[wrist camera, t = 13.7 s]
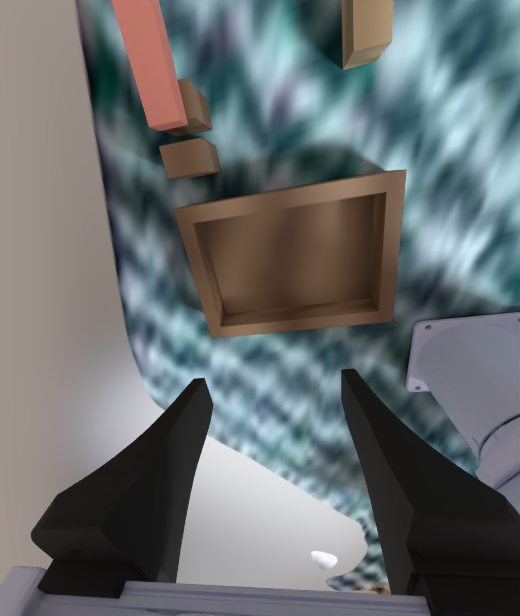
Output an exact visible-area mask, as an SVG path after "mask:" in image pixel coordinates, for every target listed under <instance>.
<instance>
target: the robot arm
mask: <svg viewBox="0 0 520 616" xmlns="http://www.w3.org/2000/svg"><path fill="white" fill-rule="evenodd" d="M518 318H519V319H518ZM427 325H429V327H427V328H425V327H426V326H427ZM417 386H418V387H417ZM406 389H407V390H408V391H409V392H421V391H431V393H432V394H433V396H434V397H435V399H436V400H437V401H438V403H439V404H440V406H441V407H442V409H443V410H444V411H445V413H446V414H447V416H448V417H449V419H450V420H451V421H452V423H453V424H454V426H455V427H456V428H457V430H458V431H459V433H460V434H461V436H462V437H463V438H464V440H465V441H466V443H467V444H468V446H469V447H470V448H471V450H472V451H473V453H474V454H475V456H476V457H477V458H478V460H479V461H480V463H481V464H480V466H479V468H478V469H477V470H476V471H475V473H476V475H477V476H478V478H479V479H480V480H478V479H477V478H475V477H473V476H472V475H470V474H469V473H467V472H466V471H464V470H463V469H461V468H460V467H458V466H457V465H456V464H454V463H453V462H451V461H450V460H449V459H447V458H446V457H445V456H443V455H442V454H441V453H439V452H438V451H437V450H435V449H434V448H433V447H431V446H430V445H429V444H427V443H426V442H425V441H424V440H422V439H421V438H420V437H419V436H418V435H416V434H415V433H414V432H413V431H412V430H411V429H410V428H408V427H407V426H406V425H405V424H404V423H403V422H402V421H401V420H400V419H399V418H398V417H397V416H396V415H395V414H394V413H392V412H391V411H390V410H389V409H388V407H387V406H386V405H385V404H384V403H383V402H382V401H381V400H380V399H379V398H378V397H377V396H376V394H375V393H374V392H373V391H372V390H371V389H370V388H369V386H368V385H367V384H366V383H365V381H364V380H363V379H362V378H361V376H360V375H359V374H358V372H357V371H356V370H355V369H343V370H341V399H342V404H343V409H344V413H345V418H346V421H347V424H348V427H349V430H350V433H351V436H352V439H353V442H354V445H355V448H356V451H357V454H358V457H359V460H360V463H361V466H362V469H363V472H364V476H365V480H366V484H367V488H368V492H369V496H370V501H371V505H372V509H373V513H374V518H375V522H376V526H377V531H378V535H379V540H380V544H381V549H382V553H383V558H384V563H385V567H386V572H387V577H388V581H389V586H390V591H391V595H387V594H368V593H349V592H330V591H311V590H292V589H273V588H254V587H235V586H215V585H197V584H178V583H176V578H177V571H178V564H179V557H180V550H181V544H182V538H183V532H184V525H185V520H186V515H187V509H188V504H189V499H190V494H191V489H192V485H193V480H194V475H195V471H196V468H197V464H198V461H199V458H200V455H201V452H202V448H203V445H204V442H205V439H206V435H207V432H208V429H209V425H210V421H211V416H212V410H213V402H212V399H211V396H210V393H209V390H208V387H207V384H206V381H205V378H197V379H193V380H192V381H191V383H190V384H189V385H188V386H187V387H186V388H185V389H184V391H183V392H182V393H181V394H180V395H179V396H178V397H177V399H176V400H175V401H174V402H173V403H172V404H171V405H170V406H169V407H168V409H167V410H166V411H165V412H164V413H163V414H162V415H161V416H160V417H159V418H158V419H157V420H156V421H155V422H154V423H153V424H152V425H151V426H150V427H149V428H148V429H147V430H146V431H145V432H144V433H143V434H141V435H140V436H139V437H138V438H137V439H136V440H135V441H134V442H132V443H131V444H130V445H129V446H127V447H126V448H125V449H124V450H122V451H121V452H120V453H119V454H117V455H116V456H115V457H114V458H112V459H111V460H109V461H108V462H107V463H105V464H104V465H103V466H101V467H100V468H98V469H97V470H96V471H94V472H92V473H91V474H90V475H88V476H87V477H85V478H84V479H82V480H80V481H79V482H77V483H75V484H74V485H73V486H71V487H69V488H68V489H66V490H65V491H63V492H61V493H59V494H58V495H57V496H56V497H55V499H54V500H53V502H52V503H51V505H50V506H49V507H48V509H47V510H46V512H45V513H44V514H43V516H42V517H41V519H40V520H39V522H38V523H37V524H36V526H35V527H34V528H33V530H32V532H31V538H32V541H33V542H34V543H35V544H36V545H37V546H38V547H39V548H40V549H42V550H43V551H44V552H45V553H46V554H48V555H49V556H50V557H51V558H52V559H54V560H53V561H52V563H51V565H50V566H49V568H48V570H47V569H44V568H40V567H26V566H14V567H13V568H12V569H11V570H10V572H9V573H8V574H7V576H6V577H5V579H4V580H3V582H2V583H1V584H0V616H520V312H515V313H504V314H493V315H483V316H472V317H461V318H450V319H439V320H429V321H420V322H417V323H416V324H415V325H414V330H413V337H412V344H411V351H410V358H409V365H408V373H407V380H406Z"/></svg>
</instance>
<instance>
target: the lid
mask: <svg viewBox="0 0 520 616" xmlns="http://www.w3.org/2000/svg"><path fill="white" fill-rule="evenodd" d="M341 4H342V46H343V70H345V69H349V68H352V67H356V66H360V65H364V64H368V63H372V62H375V61H376V60H377V59H378V58H379V56H380V55H381V54H382V53H383V52H384V50H385V49H386V48H387V47H388V45H389V44H390V43H391V42H392V22H393V0H341Z"/></svg>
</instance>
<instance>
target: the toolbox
mask: <svg viewBox="0 0 520 616" xmlns="http://www.w3.org/2000/svg"><path fill="white" fill-rule="evenodd" d="M178 84H179V88H180V93H181V97H182V101H183V105H184V110H185V114H186V118H187V122H188V125H185V126H181V127H176V128H171V129H167V130H162V131H165V132H167V133H170V134H172V135H175V136H177V137H179V136H184V135H189V134H193V133H198V132H203V131H207V130H212V125H211V120H210V115H209V110H208V105H207V100H206V98H205V97H204V96H203V95H202V94H201V93H200V92H199V91H198V90H197V88H196V87H195V86H194V85H193V84H192V83H191V82H190V81H189V80H188V79H187V78H185V79H181V80H178ZM159 149H160V152H161V155H162V159H163V162H164V166H165V169H166V173H167V176H168V179H182V178H194V177H199V176H204V175H210V174H215V173H220V172H221V170H220V165H219V160H218V155H217V150H216V146H215V145H213V144H211V143H209V142H207V141H205V140H203V139H201V138H197V139H192V140H187V141H183V142H178V143H173V144H168V145H164V146H159ZM406 171H407V170H393V171H383V172H377V173H372V174H366V175H360V176H354V177H348V178H343V179H337V180H331V181H325V182H319V183H314V184H308V185H302V186H296V187H290V188H285V189H279V190H273V191H267V192H261V193H256V194H250V195H244V196H238V197H232V198H227V199H221V200H215V201H209V202H203V203H198V204H192V205H187V206H184V207H180V208H177V209H174V213H175V216H176V220H177V223H178V226H179V230H180V233H181V237H182V240H183V243H184V247H185V250H186V253H187V257H188V260H189V264H190V267H191V270H192V274H193V277H194V281H195V284H196V287H197V291H198V294H199V297H200V301H201V304H202V308H203V311H204V314H205V318H206V321H207V325H208V328H209V331H210V335H211V338H212V339H213V338H223V337H234V336H245V335H255V334H266V333H277V332H287V331H298V330H309V329H319V328H330V327H341V326H351V325H362V324H373V323H383V322H392V320H393V309H394V299H395V288H396V277H397V267H398V256H399V245H400V235H401V224H402V214H403V203H404V192H405V182H406Z"/></svg>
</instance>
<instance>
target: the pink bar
mask: <svg viewBox="0 0 520 616" xmlns="http://www.w3.org/2000/svg"><path fill="white" fill-rule="evenodd" d="M112 3H113V7H114V10H115V13H116V17H117V20H118V24H119V27H120V30H121V34H122V37H123V40H124V44H125V47H126V51H127V54H128V57H129V61H130V64H131V67H132V71H133V74H134V78H135V81H136V84H137V88H138V91H139V95H140V98H141V101H142V105H143V108H144V111H145V115H146V118H147V122H148V125H149V127H150V128H153V129H156V130H158V131H162V130H167V129H171V128H176V127H181V126H185V125H188V122H187V118H186V114H185V110H184V105H183V101H182V97H181V93H180V88H179V84H178V80H177V76H176V72H175V67H174V63H173V59H172V55H171V50H170V46H169V42H168V38H167V34H166V29H165V25H164V21H163V17H162V12H161V8H160V4H159V0H112Z"/></svg>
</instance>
